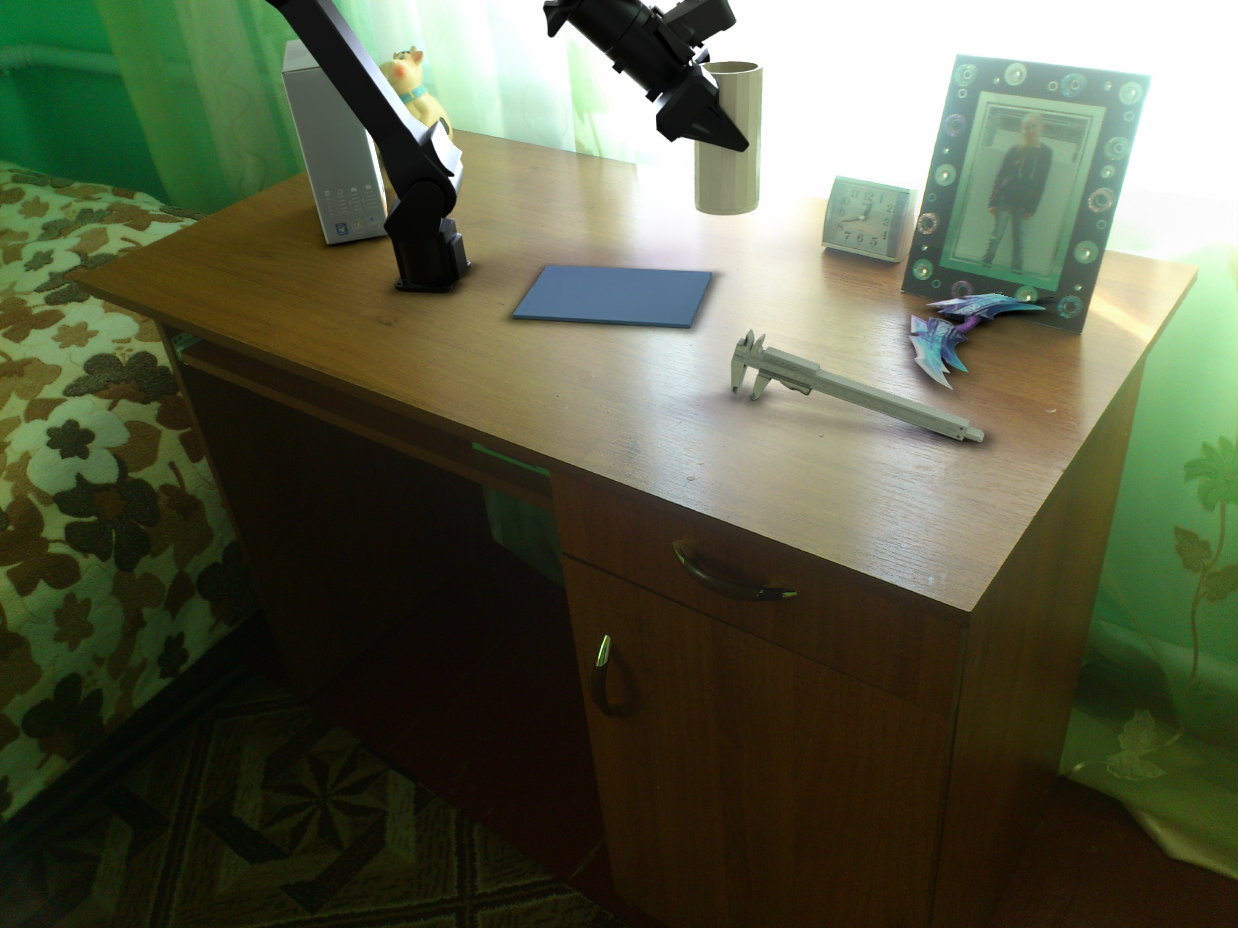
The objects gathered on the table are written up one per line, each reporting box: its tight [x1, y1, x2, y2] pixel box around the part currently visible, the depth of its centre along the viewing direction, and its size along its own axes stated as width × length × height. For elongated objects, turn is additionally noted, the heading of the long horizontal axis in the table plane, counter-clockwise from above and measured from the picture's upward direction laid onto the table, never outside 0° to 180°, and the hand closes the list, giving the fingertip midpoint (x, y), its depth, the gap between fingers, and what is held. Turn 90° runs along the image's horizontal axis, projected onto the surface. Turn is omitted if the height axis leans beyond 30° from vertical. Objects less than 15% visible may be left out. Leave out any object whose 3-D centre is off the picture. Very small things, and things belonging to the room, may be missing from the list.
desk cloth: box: [512, 264, 713, 329], centre depth 99 cm, size 18×11×1 cm, turn 75°
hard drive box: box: [280, 38, 389, 245], centre depth 116 cm, size 16×8×20 cm, turn 14°
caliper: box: [730, 328, 985, 443], centre depth 77 cm, size 20×1×6 cm, turn 63°
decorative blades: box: [908, 292, 1047, 391], centre depth 88 cm, size 20×1×10 cm
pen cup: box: [693, 59, 764, 217], centre depth 97 cm, size 7×7×14 cm
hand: (742, 136), depth 97 cm, fingers closed on pen cup, 7 cm apart
